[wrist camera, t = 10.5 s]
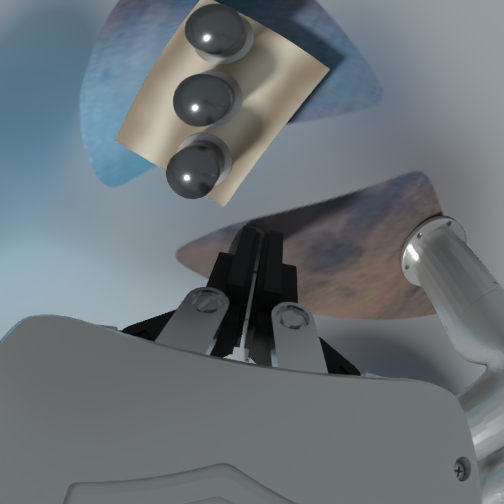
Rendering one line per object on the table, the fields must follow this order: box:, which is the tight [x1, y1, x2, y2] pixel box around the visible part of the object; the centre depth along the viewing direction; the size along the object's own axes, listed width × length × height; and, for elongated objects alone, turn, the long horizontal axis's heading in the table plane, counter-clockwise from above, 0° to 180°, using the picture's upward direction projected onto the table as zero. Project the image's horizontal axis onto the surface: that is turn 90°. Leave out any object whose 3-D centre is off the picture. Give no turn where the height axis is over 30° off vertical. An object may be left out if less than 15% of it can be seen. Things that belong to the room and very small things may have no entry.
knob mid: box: [173, 74, 235, 127], centre depth 23 cm, size 5×5×5 cm
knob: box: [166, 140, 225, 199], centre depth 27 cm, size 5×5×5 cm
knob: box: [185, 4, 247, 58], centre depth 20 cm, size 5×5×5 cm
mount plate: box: [115, 0, 330, 207], centre depth 27 cm, size 16×20×3 cm
